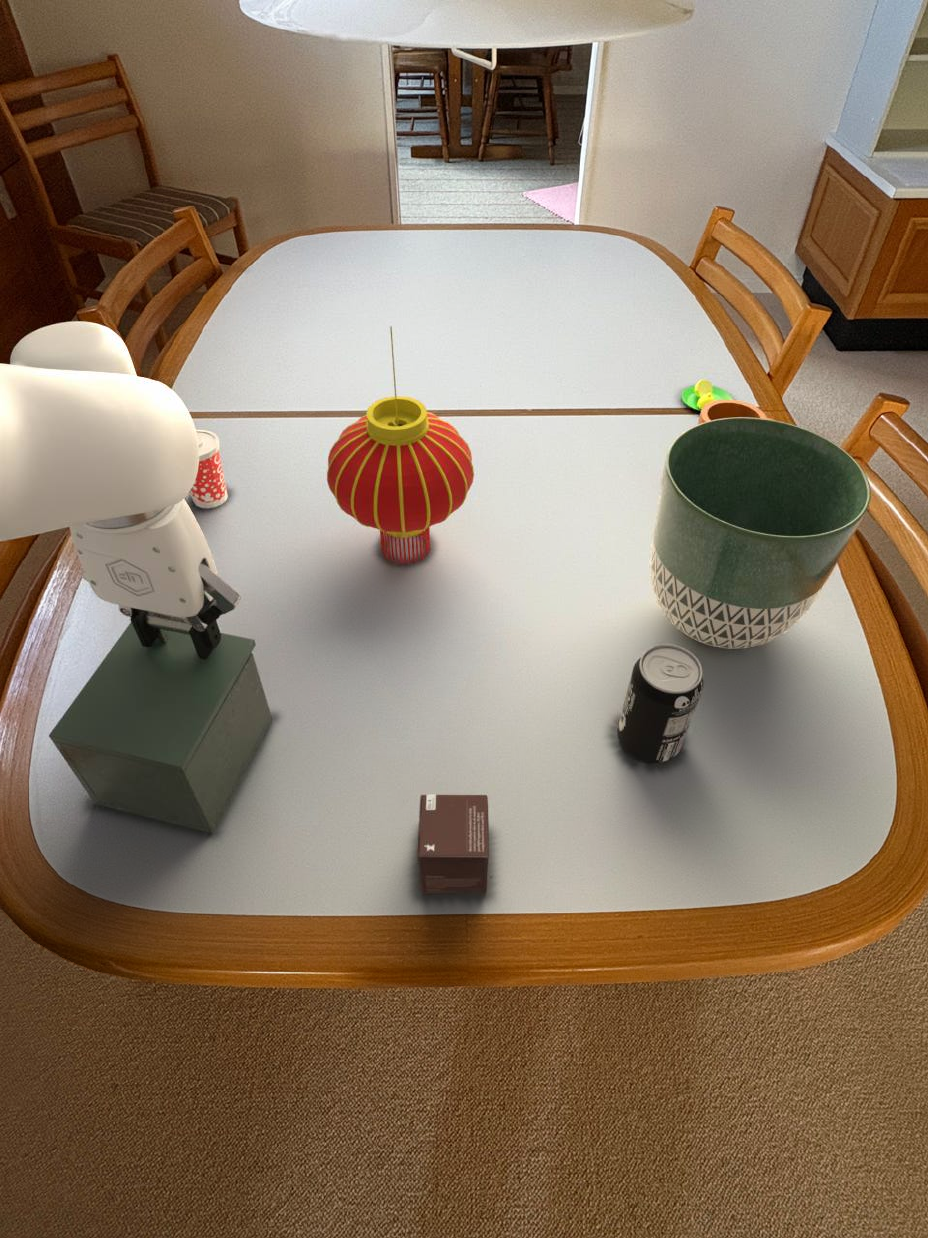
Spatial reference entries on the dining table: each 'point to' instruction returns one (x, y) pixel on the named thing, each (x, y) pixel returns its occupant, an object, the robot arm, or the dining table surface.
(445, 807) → the box
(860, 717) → the dining table surface
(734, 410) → the mug
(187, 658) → the bin lid
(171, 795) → the green open box
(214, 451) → the beverage cup
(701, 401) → the green dish
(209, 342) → the dining table surface
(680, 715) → the beverage can
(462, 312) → the dining table surface
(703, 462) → the planter
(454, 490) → the lantern
